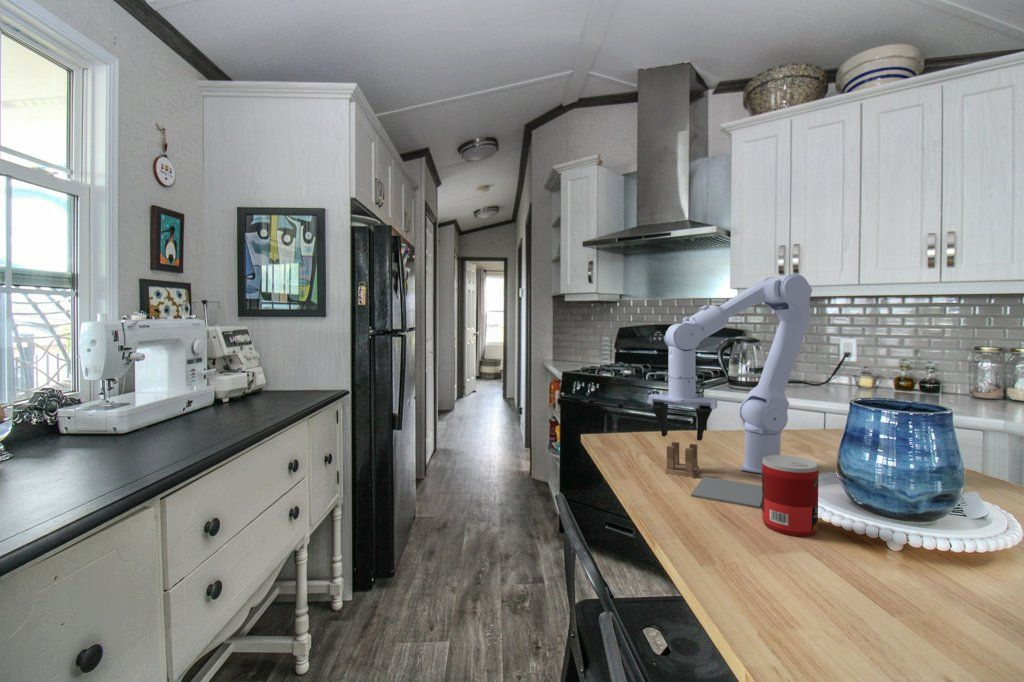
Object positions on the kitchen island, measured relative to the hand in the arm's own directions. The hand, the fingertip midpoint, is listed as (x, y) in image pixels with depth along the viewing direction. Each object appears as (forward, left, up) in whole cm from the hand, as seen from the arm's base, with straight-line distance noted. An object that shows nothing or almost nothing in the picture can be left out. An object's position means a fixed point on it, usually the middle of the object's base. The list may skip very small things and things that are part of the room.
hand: (681, 437), depth 107 cm
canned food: (+20, +22, -8) cm, 31 cm away
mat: (+8, +11, -8) cm, 16 cm away
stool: (0, 0, -8) cm, 8 cm away
